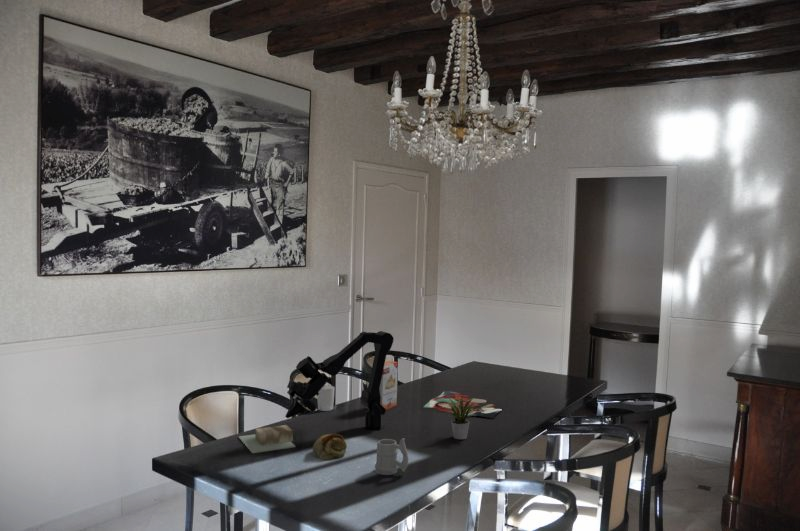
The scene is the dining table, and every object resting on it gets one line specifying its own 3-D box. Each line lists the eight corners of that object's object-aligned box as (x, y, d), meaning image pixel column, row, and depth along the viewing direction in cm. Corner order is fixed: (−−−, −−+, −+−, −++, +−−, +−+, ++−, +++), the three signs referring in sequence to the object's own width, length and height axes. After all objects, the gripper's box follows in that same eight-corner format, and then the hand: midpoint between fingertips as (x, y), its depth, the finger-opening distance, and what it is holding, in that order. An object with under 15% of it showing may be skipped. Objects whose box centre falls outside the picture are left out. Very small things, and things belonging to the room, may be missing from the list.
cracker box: (382, 412, 277) (383, 366, 276) (371, 411, 280) (371, 364, 279) (397, 406, 289) (398, 361, 289) (386, 404, 292) (387, 360, 291)
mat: (279, 432, 246) (279, 431, 246) (295, 447, 228) (295, 445, 228) (238, 437, 238) (238, 436, 238) (252, 453, 220) (252, 452, 220)
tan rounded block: (286, 424, 241) (255, 428, 235) (292, 430, 234) (261, 434, 228) (286, 435, 241) (255, 439, 235) (292, 440, 234) (261, 445, 228)
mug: (381, 465, 210) (382, 430, 210) (413, 472, 205) (413, 436, 205) (370, 472, 204) (371, 436, 203) (402, 479, 198) (403, 442, 198)
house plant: (485, 434, 247) (485, 393, 247) (477, 444, 234) (478, 401, 234) (450, 430, 252) (451, 390, 252) (441, 440, 239) (442, 398, 239)
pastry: (332, 463, 212) (332, 440, 212) (303, 456, 219) (304, 434, 219) (355, 451, 225) (355, 429, 224) (327, 445, 231) (328, 424, 231)
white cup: (331, 411, 277) (331, 389, 277) (314, 410, 279) (314, 388, 278) (336, 407, 285) (336, 385, 284) (320, 406, 286) (320, 384, 286)
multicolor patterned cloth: (418, 411, 283) (418, 406, 283) (444, 394, 315) (444, 391, 315) (492, 420, 269) (492, 416, 269) (511, 402, 301) (511, 398, 301)
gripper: (292, 368, 247) (264, 398, 242) (308, 377, 230) (279, 410, 225) (311, 386, 251) (284, 416, 246) (328, 396, 234) (299, 428, 229)
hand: (286, 417), depth 236 cm, fingers closed
